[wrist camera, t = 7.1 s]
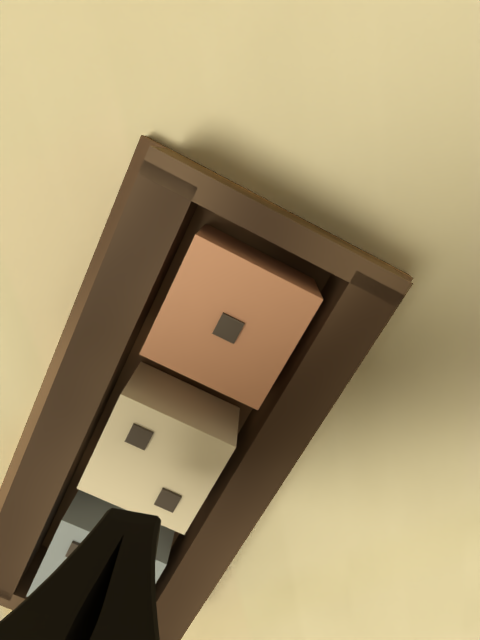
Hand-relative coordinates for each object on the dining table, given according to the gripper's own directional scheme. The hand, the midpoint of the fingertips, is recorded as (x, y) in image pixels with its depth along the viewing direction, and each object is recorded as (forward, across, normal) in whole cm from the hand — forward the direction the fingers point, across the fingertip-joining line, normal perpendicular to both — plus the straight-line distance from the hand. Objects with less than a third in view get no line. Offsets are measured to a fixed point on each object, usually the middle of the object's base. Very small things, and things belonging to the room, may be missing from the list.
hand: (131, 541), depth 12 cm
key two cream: (+6, 0, 0) cm, 6 cm away
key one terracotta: (+6, -2, -5) cm, 8 cm away
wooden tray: (+6, 0, 0) cm, 7 cm away
